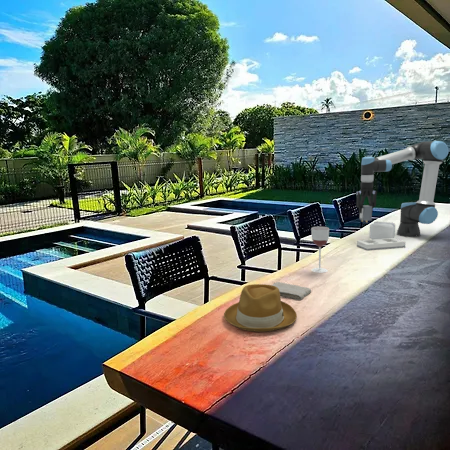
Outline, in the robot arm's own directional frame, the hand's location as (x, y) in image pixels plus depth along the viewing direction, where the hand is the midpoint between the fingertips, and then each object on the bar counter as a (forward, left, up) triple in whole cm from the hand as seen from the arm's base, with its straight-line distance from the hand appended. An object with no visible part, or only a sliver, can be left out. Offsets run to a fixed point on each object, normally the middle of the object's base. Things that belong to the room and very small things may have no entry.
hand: (365, 217), depth 256 cm
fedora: (+98, +96, -18) cm, 138 cm away
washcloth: (+79, +73, -18) cm, 109 cm away
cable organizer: (-17, -6, -17) cm, 25 cm away
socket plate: (-5, +11, -17) cm, 21 cm away
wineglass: (+52, +47, -17) cm, 72 cm away
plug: (0, 0, -3) cm, 3 cm away
